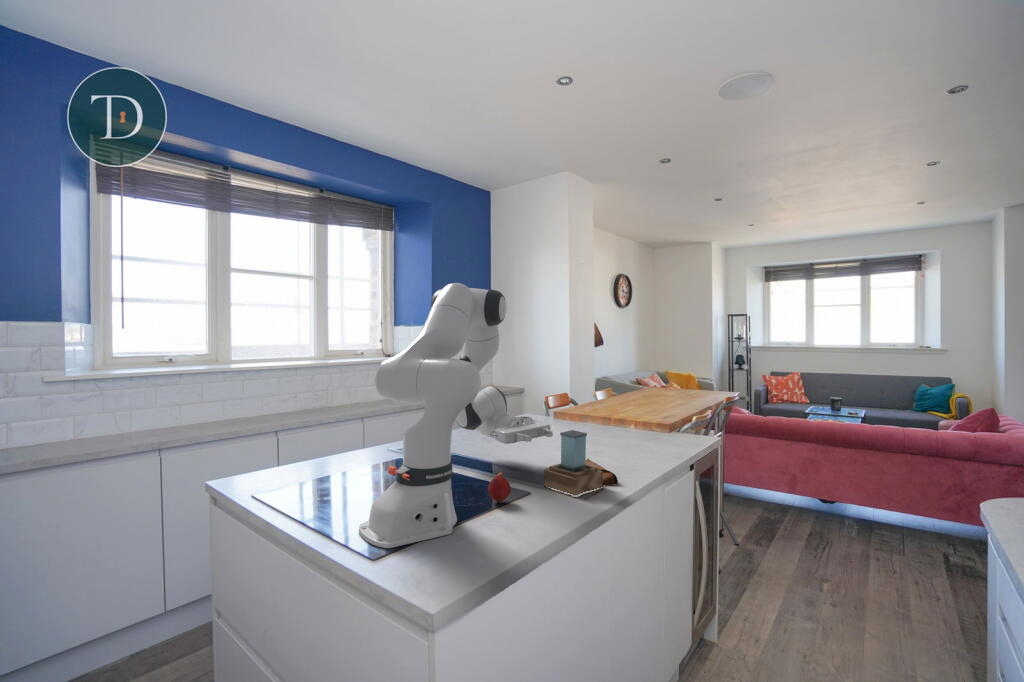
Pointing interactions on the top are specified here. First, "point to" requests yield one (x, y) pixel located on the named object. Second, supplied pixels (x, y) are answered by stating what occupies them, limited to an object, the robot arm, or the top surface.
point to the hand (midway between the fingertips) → (540, 436)
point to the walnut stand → (573, 479)
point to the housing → (573, 451)
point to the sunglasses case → (604, 473)
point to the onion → (499, 488)
